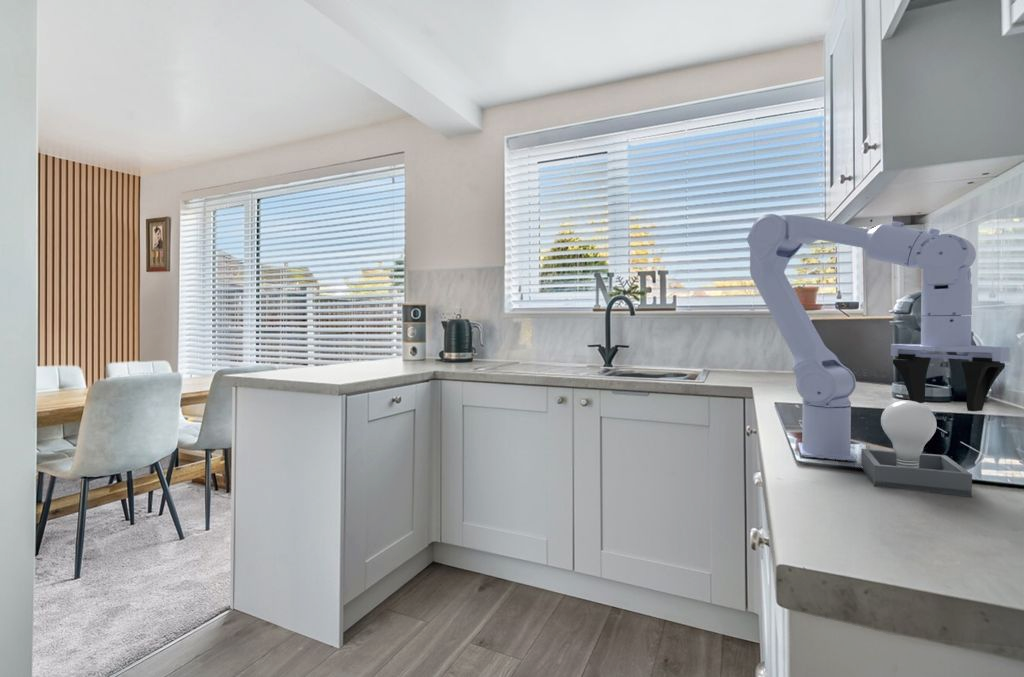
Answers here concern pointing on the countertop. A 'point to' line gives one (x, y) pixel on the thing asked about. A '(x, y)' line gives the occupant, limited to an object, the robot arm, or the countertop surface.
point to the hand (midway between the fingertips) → (944, 406)
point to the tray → (917, 473)
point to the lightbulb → (908, 430)
